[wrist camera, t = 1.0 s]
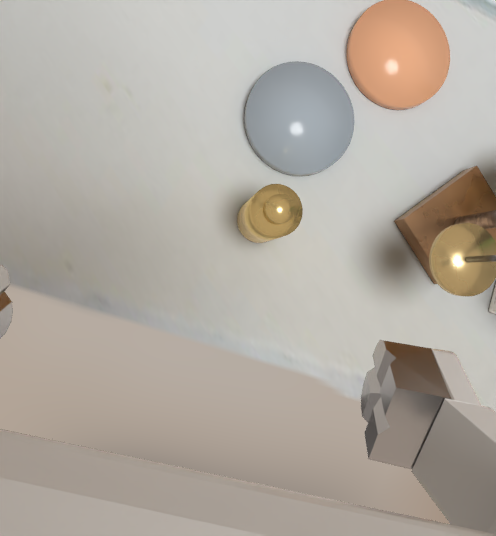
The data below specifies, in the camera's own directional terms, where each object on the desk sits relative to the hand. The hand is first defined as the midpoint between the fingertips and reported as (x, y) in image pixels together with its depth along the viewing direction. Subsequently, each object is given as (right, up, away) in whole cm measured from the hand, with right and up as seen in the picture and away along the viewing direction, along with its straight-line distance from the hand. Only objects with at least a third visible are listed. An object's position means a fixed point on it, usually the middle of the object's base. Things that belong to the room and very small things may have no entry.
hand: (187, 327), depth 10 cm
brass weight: (+2, +6, +35) cm, 35 cm away
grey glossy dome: (+6, +16, +35) cm, 39 cm away
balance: (+23, +6, +38) cm, 45 cm away
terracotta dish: (+17, +23, +37) cm, 47 cm away
